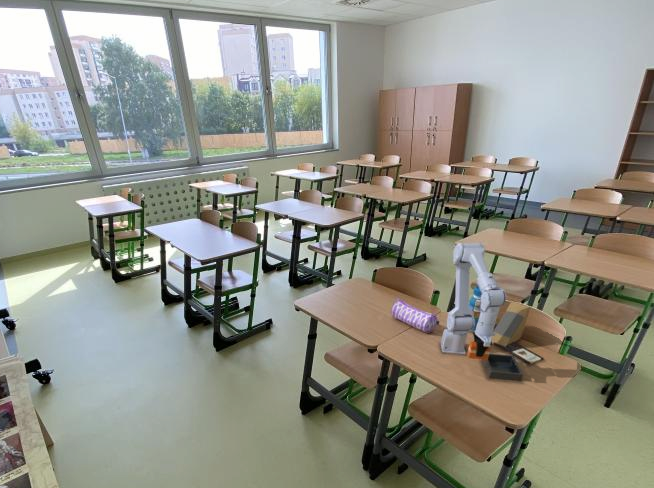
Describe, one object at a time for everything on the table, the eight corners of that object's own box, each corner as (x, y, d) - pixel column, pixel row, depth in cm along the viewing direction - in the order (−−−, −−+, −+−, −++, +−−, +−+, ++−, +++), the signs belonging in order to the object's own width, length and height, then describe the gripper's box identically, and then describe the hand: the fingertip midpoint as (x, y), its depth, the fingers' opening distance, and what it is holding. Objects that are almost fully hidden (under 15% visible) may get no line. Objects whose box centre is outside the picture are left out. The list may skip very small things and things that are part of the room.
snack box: (468, 358, 149) (471, 345, 146) (466, 353, 152) (470, 341, 149) (487, 359, 148) (491, 347, 145) (485, 355, 151) (489, 342, 148)
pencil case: (438, 330, 182) (441, 311, 177) (426, 336, 177) (430, 317, 172) (399, 314, 196) (402, 296, 191) (388, 319, 191) (390, 301, 186)
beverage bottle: (459, 326, 186) (468, 286, 175) (471, 322, 190) (481, 283, 179) (472, 334, 180) (483, 293, 169) (485, 330, 183) (496, 289, 173)
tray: (488, 379, 150) (490, 371, 148) (481, 360, 161) (483, 352, 160) (520, 382, 149) (523, 374, 147) (511, 362, 160) (513, 355, 158)
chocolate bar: (507, 338, 175) (543, 357, 162) (507, 340, 176) (542, 359, 162) (493, 342, 172) (528, 363, 158) (492, 344, 172) (527, 365, 159)
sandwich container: (485, 341, 174) (493, 310, 167) (503, 331, 183) (511, 301, 175) (504, 348, 169) (513, 316, 161) (521, 337, 177) (530, 307, 170)
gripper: (503, 331, 136) (493, 364, 143) (493, 313, 148) (485, 344, 155) (482, 330, 136) (473, 363, 144) (474, 312, 148) (466, 343, 156)
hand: (478, 353), depth 149 cm, fingers closed on snack box, 3 cm apart
